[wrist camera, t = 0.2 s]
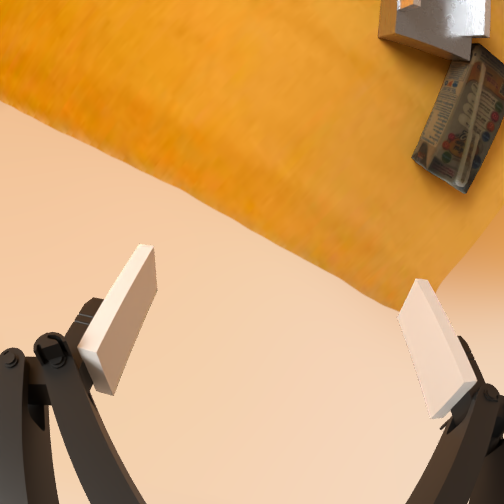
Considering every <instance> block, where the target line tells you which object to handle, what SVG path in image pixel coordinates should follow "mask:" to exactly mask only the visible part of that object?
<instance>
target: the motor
mask: <svg viewBox="0 0 504 504" xmlns="http://www.w3.org/2000/svg"><path fill="white" fill-rule="evenodd" d="M490 10H491V0H381V7H380V19H379V30H378V38H382V39H386V40H389V41H393V42H396V43H400V44H403V45H406V46H409V47H412V48H415V49H418V50H421V51H424V52H427V53H430V54H433V55H435V56H438V57H441V58H443V59H446V60H465V61H470V53H471V42H472V38H489V37H490Z"/></svg>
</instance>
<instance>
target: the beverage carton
mask: <svg viewBox="0 0 504 504" xmlns="http://www.w3.org/2000/svg"><path fill="white" fill-rule="evenodd" d="M503 117H504V64H503V63H502V62H501V61H500V60H499V59H497V58H496V57H495V56H494V55H492V54H491V53H490V52H489V51H488V50H487V49H486V48H484V47H483V46H482V45H481V44H479V43H471V53H470V61H465V60H452V62H451V64H450V67H449V70H448V72H447V75H446V77H445V80H444V83H443V85H442V88H441V90H440V92H439V95H438V98H437V100H436V102H435V105H434V107H433V109H432V112H431V114H430V116H429V119H428V121H427V123H426V125H425V128H424V130H423V132H422V135H421V137H420V140H419V142H418V144H417V146H416V149H415V151H414V153H413V155H412V157H411V158H412V159H413V160H415V162H416V163H417V164H419V165H421V166H422V167H423V168H424V169H426V170H427V171H429V172H430V173H432V174H433V175H435V176H437V177H439V178H440V179H442V180H443V181H445V182H447V183H448V184H449V185H451V186H452V187H454V188H455V189H457V190H459V191H460V192H462V193H464V194H466V193H467V191H468V189H469V187H470V186H471V184H472V182H473V180H474V178H475V176H476V174H477V172H478V171H479V169H480V167H481V165H482V163H483V161H484V159H485V157H486V155H487V153H488V151H489V149H490V146H491V144H492V142H493V140H494V138H495V136H496V133H497V131H498V129H499V127H500V124H501V122H502V119H503Z"/></svg>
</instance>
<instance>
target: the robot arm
mask: <svg viewBox="0 0 504 504" xmlns="http://www.w3.org/2000/svg"><path fill="white" fill-rule="evenodd" d="M156 292H157V281H156V270H155V255H154V246H150V245H143V244H139V245H138V247H137V248H136V250H135V251H134V253H133V254H132V256H131V257H130V259H129V260H128V262H127V263H126V265H125V267H124V268H123V270H122V271H121V273H120V275H119V276H118V278H117V279H116V281H115V283H114V284H113V286H112V287H111V289H110V291H109V292H108V294H107V296H106V297H105V299H99V298H92V299H91V300H89V301H88V302H87V303H85V304H84V306H83V307H82V309H81V311H80V312H79V315H77V317H76V319H75V322H73V323H72V325H71V327H70V328H69V330H68V332H67V333H66V335H65V337H64V336H62V335H61V334H59V333H55V332H50V333H46V334H44V335H42V336H40V337H39V338H38V339H37V340H36V342H35V344H34V353H35V355H36V357H25V356H24V354H23V352H22V351H21V350H20V349H18V348H9V349H6V350H5V351H3V352H2V353H1V355H0V504H59V500H58V495H57V489H56V483H55V476H54V469H53V462H52V452H51V441H50V427H49V408H48V407H49V406H48V405H52V407H53V411H54V414H55V417H56V420H57V423H58V426H59V429H60V432H61V435H62V438H63V440H64V443H65V446H66V449H67V451H68V454H69V456H70V459H71V461H72V464H73V466H74V468H75V471H76V473H77V476H78V478H79V480H80V482H81V485H82V487H83V489H84V491H85V493H86V495H87V497H88V499H89V501H90V503H91V504H146V502H145V501H144V499H143V498H142V496H141V494H140V493H139V491H138V489H137V487H136V486H135V484H134V483H133V481H132V479H131V477H130V476H129V474H128V472H127V470H126V468H125V466H124V464H123V462H122V461H121V459H120V457H119V455H118V453H117V451H116V449H115V447H114V445H113V443H112V441H111V439H110V437H109V435H108V433H107V430H106V428H105V426H104V424H103V421H102V419H101V417H100V415H99V412H98V410H97V408H96V405H95V403H94V400H93V398H92V395H91V393H90V389H91V387H92V385H94V387H95V389H96V391H98V392H101V393H105V394H109V395H113V396H114V393H115V391H116V388H117V386H118V383H119V381H120V378H121V376H122V373H123V370H124V368H125V365H126V363H127V360H128V358H129V355H130V353H131V351H132V348H133V346H134V343H135V341H136V338H137V336H138V334H139V331H140V329H141V327H142V324H143V322H144V320H145V317H146V315H147V313H148V311H149V308H150V306H151V304H152V301H153V299H154V297H155V295H156ZM397 319H398V322H399V325H400V327H401V330H402V333H403V336H404V338H405V341H406V344H407V347H408V350H409V352H410V355H411V358H412V361H413V364H414V367H415V370H416V373H417V376H418V380H419V383H420V386H421V389H422V392H423V396H424V399H425V403H426V406H427V409H428V413H429V417H430V419H435V418H443V417H444V416H445V415H446V414H447V413H448V412H449V411H450V410H451V413H452V417H451V418H450V419H449V420H447V421H446V422H445V423H444V424H443V425H442V426H441V428H440V430H442V429H443V428H444V427H445V426H446V427H445V430H444V432H443V434H442V436H441V439H440V441H439V443H438V445H437V447H436V449H435V451H434V453H433V455H432V458H431V459H430V461H429V463H428V465H427V467H426V469H425V471H424V473H423V475H422V477H421V479H420V480H419V482H418V484H417V485H416V487H415V489H414V491H413V492H412V494H411V496H410V498H409V499H408V501H407V502H406V504H467V503H468V501H469V504H504V439H503V433H504V396H502V395H500V394H499V392H498V390H497V389H496V388H495V387H494V386H493V385H491V384H488V383H487V384H486V383H485V381H484V379H483V376H482V374H481V372H480V370H479V367H478V365H477V363H476V361H475V360H474V357H473V354H472V353H471V350H470V348H469V346H468V344H467V343H466V341H465V340H464V339H463V338H462V337H461V336H457V335H456V333H455V331H454V329H453V327H452V325H451V323H450V321H449V319H448V317H447V315H446V313H445V311H444V309H443V307H442V305H441V304H440V302H439V300H438V298H437V296H436V294H435V292H434V291H433V289H432V287H431V285H430V284H429V282H428V280H424V279H415V281H414V283H413V286H412V288H411V290H410V292H409V294H408V296H407V298H406V300H405V302H404V304H403V306H402V308H401V310H400V312H399V314H398V316H397ZM469 498H470V500H469Z"/></svg>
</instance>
